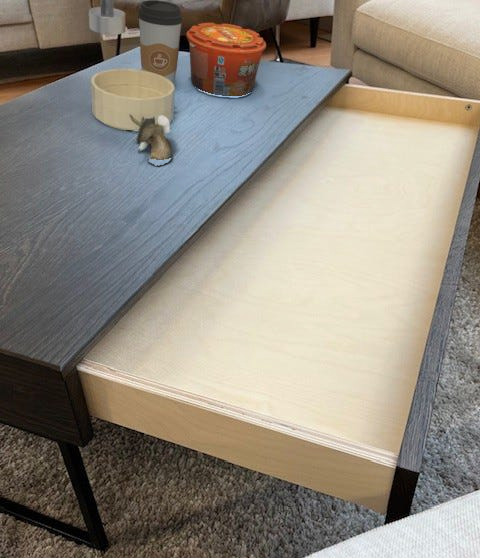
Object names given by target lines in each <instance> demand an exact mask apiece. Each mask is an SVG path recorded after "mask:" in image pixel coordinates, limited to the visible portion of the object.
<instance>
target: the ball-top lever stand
mask: <svg viewBox="0 0 480 558" xmlns="http://www.w3.org/2000/svg"><path fill="white" fill-rule="evenodd" d="M88 20H89V21H88V23H89V29H90V30H91V31H92V32H94V33H97V34H101V35H108V36H117V35H122V34H124V33H126V13H125V11H123V10H120V9H118V8H115V7H114V0H100V6H96V7H91V8H89V10H88Z"/></svg>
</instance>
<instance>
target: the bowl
mask: <svg viewBox="0 0 480 558" xmlns="http://www.w3.org/2000/svg"><path fill="white" fill-rule="evenodd" d="M175 91H176V89H175V84H173V83H172V82H171V81H170V80H169V79H167V78H165V77H163V76H161V75H158V74H155V73H152V72H148V71H143V70H142V69H135V68H113V69H112V68H111V69H106V70H102V71H99V72H97V73H94V75H92V76H91V78H90V94H91V113H92V115H93V116H94V117H95V118H96V119H97V120H98V121H100V122H101V123H102V124H104V125H106V126H108V127H111V128H113V129H117V130H122V131H126V130H139V128H140V127H139V126H138V125H136V124H135V123H134V122H133V121H132V120H131V118H130V117H129V115H132V116H133V117H134V119H136V120H137V121H138V122H140V123H141V119H142V117H144V118H145V119H146V118H148V119H150V118H153V117H154V119H155V125H156V124H157V119H158V116H159V115H163V116H165V117H167V119H168V120H169V123H170V124H171V122H172V121H173V119H174V111H175Z"/></svg>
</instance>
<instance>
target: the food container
mask: <svg viewBox="0 0 480 558" xmlns="http://www.w3.org/2000/svg"><path fill="white" fill-rule="evenodd" d="M186 39H187V41H188V42H189V43H188V45H189V47H188V48H189V62H190V63H189V64H190V66H189V67H190V81H191V85H192V87H194V88H195V87H196V88H198V89H200V90H202V91H205V92H208V93H211V94H215V95H222V96H242V95H246V94H248V93H250V92H251V91H252V92H253V90H254V86H255V81H256V78H257V75H258V70H259V67H260V63H261V58H262V54H263V52H264V51H265V50H266V48H267V43H266V41H265V40H264V38H263V37H261V36H260V34H259V32H256V31H254V30H252V29H250V28H243V27H242V26H240V25H236V24H230V23H222V24H220V23H219V24H217V23H214V22H202V23H201V22H200V23H198V24H197V25H193V26H191V28H189V30H187V31H186ZM196 88H195V89H196Z"/></svg>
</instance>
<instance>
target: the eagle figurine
mask: <svg viewBox="0 0 480 558" xmlns="http://www.w3.org/2000/svg"><path fill="white" fill-rule="evenodd" d="M129 117H130V118H131V120H132V121H133V122H134V123H135V124H136V125H138V126H139V127H140V128H139V130H138V131H137V135H136V138H135V140H136V145H139V144H140V145H139V147H138V150H139V149H144V150H146V148H147V147H148V146H149V145H150V146H151V149H150V154H149V156H148V158H150V159H156V160H164V159H169V158H172V157H174V152H173V145H172V142H171V141H170V140H169V138H167V137H166V135H165V134H169V133H170V131H171V122H170V123H169V120H168V119H167V117H165V116H163V115H159V116H158V119H157V124H156V125H155V119H154V117H153V118H150V119H148V118H146V119H145V118H144V117H142V119H141V123H140V122H138V121H137V120H136V119H134V117H133V116H132V115H129ZM172 159H173V158H172Z"/></svg>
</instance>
